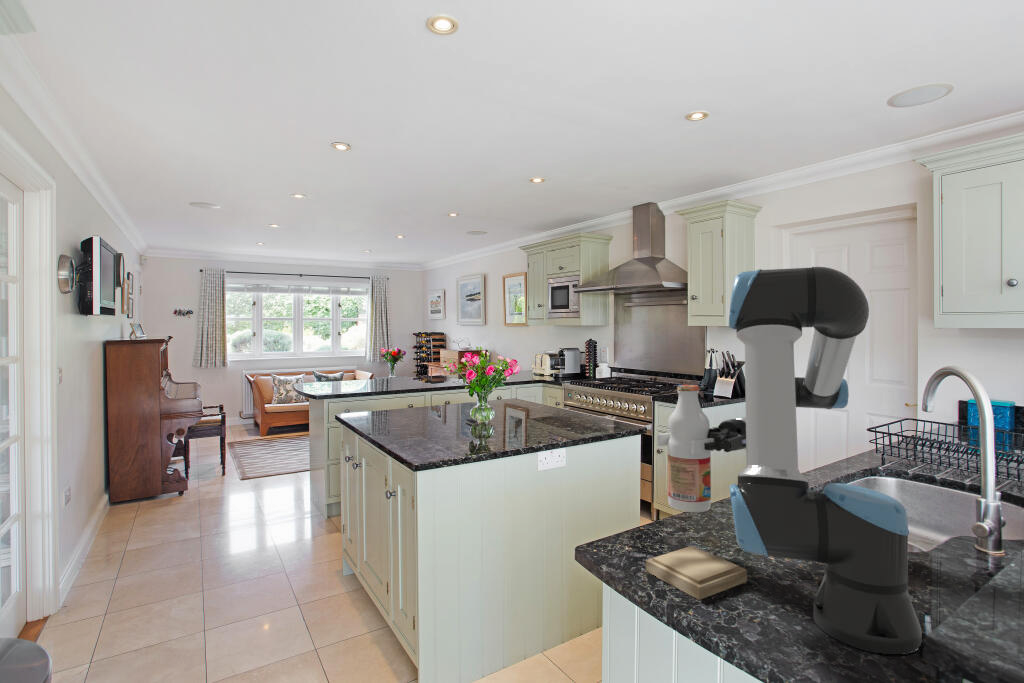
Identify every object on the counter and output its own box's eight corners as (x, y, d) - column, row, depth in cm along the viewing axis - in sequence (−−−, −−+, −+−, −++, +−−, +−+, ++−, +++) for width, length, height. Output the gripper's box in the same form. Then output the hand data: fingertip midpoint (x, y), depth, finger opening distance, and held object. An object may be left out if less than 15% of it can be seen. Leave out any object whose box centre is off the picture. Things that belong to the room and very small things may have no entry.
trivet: (747, 581, 106) (746, 566, 106) (699, 600, 99) (699, 584, 99) (691, 556, 118) (691, 543, 118) (645, 571, 111) (645, 557, 111)
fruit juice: (664, 500, 126) (662, 383, 126) (704, 500, 126) (702, 383, 125) (673, 513, 117) (672, 387, 117) (716, 513, 116) (715, 387, 116)
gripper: (781, 457, 121) (715, 470, 109) (703, 441, 140) (640, 451, 128) (780, 424, 121) (715, 434, 109) (702, 413, 140) (640, 420, 128)
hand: (675, 443), depth 119 cm, fingers closed on fruit juice, 9 cm apart
